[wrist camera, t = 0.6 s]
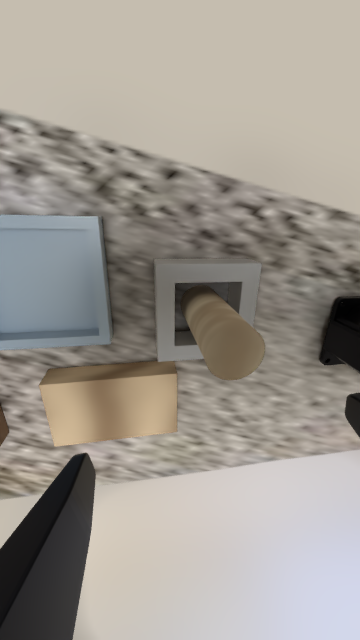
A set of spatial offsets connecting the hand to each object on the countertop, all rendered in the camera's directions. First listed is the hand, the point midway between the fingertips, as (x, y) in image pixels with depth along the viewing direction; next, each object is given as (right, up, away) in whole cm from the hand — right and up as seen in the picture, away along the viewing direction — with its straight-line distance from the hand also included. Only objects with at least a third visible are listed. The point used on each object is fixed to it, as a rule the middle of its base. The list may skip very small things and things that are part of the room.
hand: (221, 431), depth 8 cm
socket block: (0, +5, +11) cm, 12 cm away
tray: (-11, +6, +9) cm, 15 cm away
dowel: (0, +5, +11) cm, 12 cm away
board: (-7, -2, +13) cm, 15 cm away
